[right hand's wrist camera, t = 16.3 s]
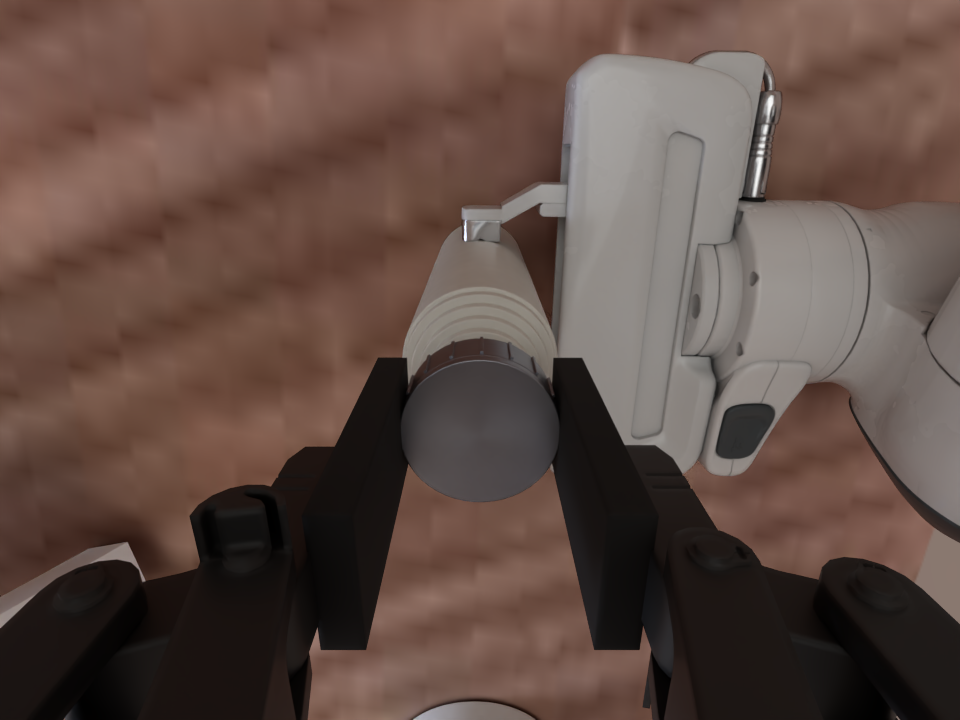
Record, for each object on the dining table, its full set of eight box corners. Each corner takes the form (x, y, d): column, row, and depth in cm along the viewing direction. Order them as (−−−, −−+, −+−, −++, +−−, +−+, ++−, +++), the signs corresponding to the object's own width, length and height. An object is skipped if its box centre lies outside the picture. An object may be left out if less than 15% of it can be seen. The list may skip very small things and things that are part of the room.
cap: (535, 481, 15) (540, 516, 14) (395, 457, 15) (385, 489, 14) (571, 352, 14) (582, 376, 12) (417, 322, 14) (410, 343, 12)
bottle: (432, 296, 33) (368, 493, 14) (445, 213, 31) (393, 312, 12) (512, 311, 33) (554, 522, 15) (530, 230, 32) (604, 350, 13)
